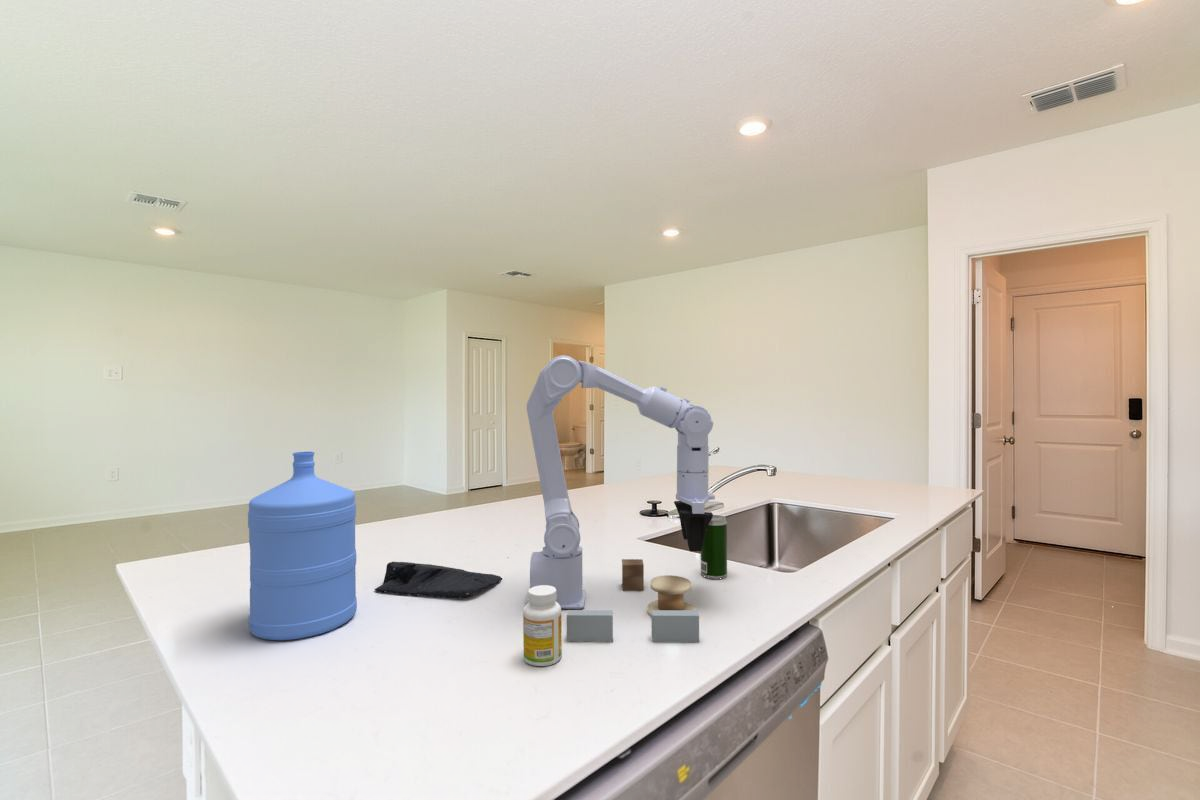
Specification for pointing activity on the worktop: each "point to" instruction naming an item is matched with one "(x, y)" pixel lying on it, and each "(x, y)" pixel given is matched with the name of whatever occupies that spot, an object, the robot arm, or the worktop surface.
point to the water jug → (302, 556)
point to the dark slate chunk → (434, 580)
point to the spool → (670, 593)
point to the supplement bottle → (542, 627)
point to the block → (632, 575)
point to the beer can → (715, 549)
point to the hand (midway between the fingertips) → (692, 544)
